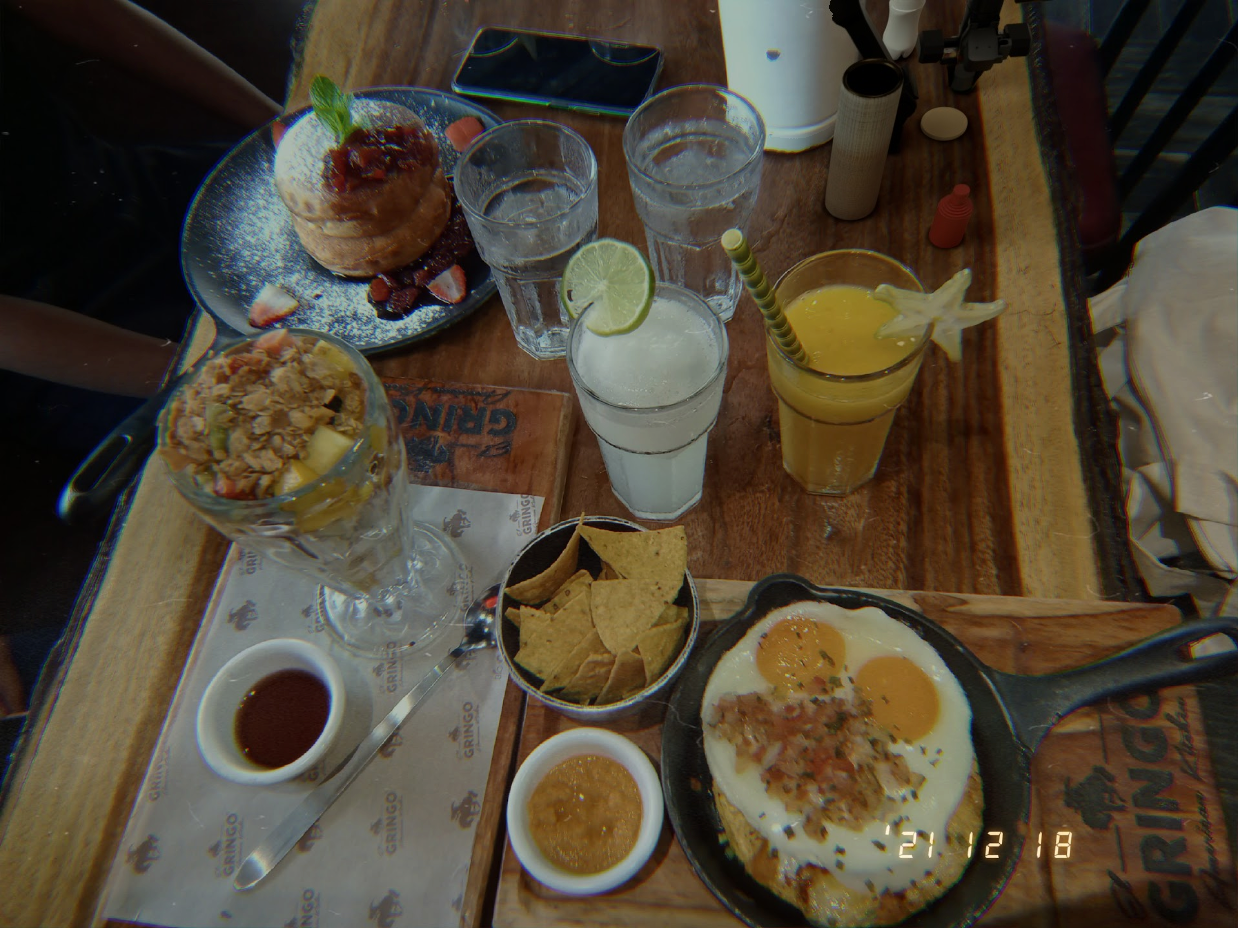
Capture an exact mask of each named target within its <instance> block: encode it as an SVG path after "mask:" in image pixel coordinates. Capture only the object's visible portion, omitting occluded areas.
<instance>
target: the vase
mask: <svg viewBox="0 0 1238 928" xmlns="http://www.w3.org/2000/svg"><path fill="white" fill-rule="evenodd" d="M895 63H896V62H895ZM895 63H893V62H891V61H889V60H886V59H881V58H868V59H860V60H858V61H855V62H853V63H852V64H851V65H849V66H848V67H847V68H846V69H845V70H844V72H843V73H842V77H841V84H840V89H839V90H840V91H839V97H838V104H837V111H836V118H835V126H834V131H833V140H832V147H831V152H830V153H831V154H830V161H829V169H828V173H827V174H828V175H827V183H826V189H825V197H824V205H825V208H826V210H827V212H828V213H829V214H830V215H832V217H835V218H837V219H839V220H843V221H857V220H861V219H863V218H866V217H868V216H869V215H870V214H871V213H872V212H873V211H874V209H875V208H876V204H877V201H878V197H879V193H880V188H881V183H882V179H883V176H884V171H885V166H886V162H887V157H888V154H889V153H888V149H889V144H890V140H891V135H892V131H893V126H894V122H895V117H896V113H897V108H898V104H899V99H900V95H901V91H902V86H903V81H904V74H903V72H902V70H901V68H900V67H899V66H900V65H898V64H897V63H896V64H897V65H896V64H895Z"/></svg>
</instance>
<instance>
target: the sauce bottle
mask: <svg viewBox="0 0 1238 928" xmlns="http://www.w3.org/2000/svg"><path fill="white" fill-rule="evenodd" d="M970 192H971V188H970V187H969V186H968V185H967V184H964V183H959V184H956V185H955V186H954V187H953V189H952V193H950V194H947V195H945V196H944V197H943V198H941V199H940V201H939V202H938V204H937V207H936V210H935V214H934V217H933V220H932V223H931V226H930V229H929V232H928V239H929V241H930V242H931V244H933V245H934V246H935V247H938V248H941V249H952V248H955V247H957V246H958V245H959V244H960V243H961V242H962V240H963V237H964V235H965V232H966V230H967V228H968V225H969V222H970V219H971V217H972V214H973V212H974V204H973V201H972V200H971V198H970V197H968V196H969V195H970Z"/></svg>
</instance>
